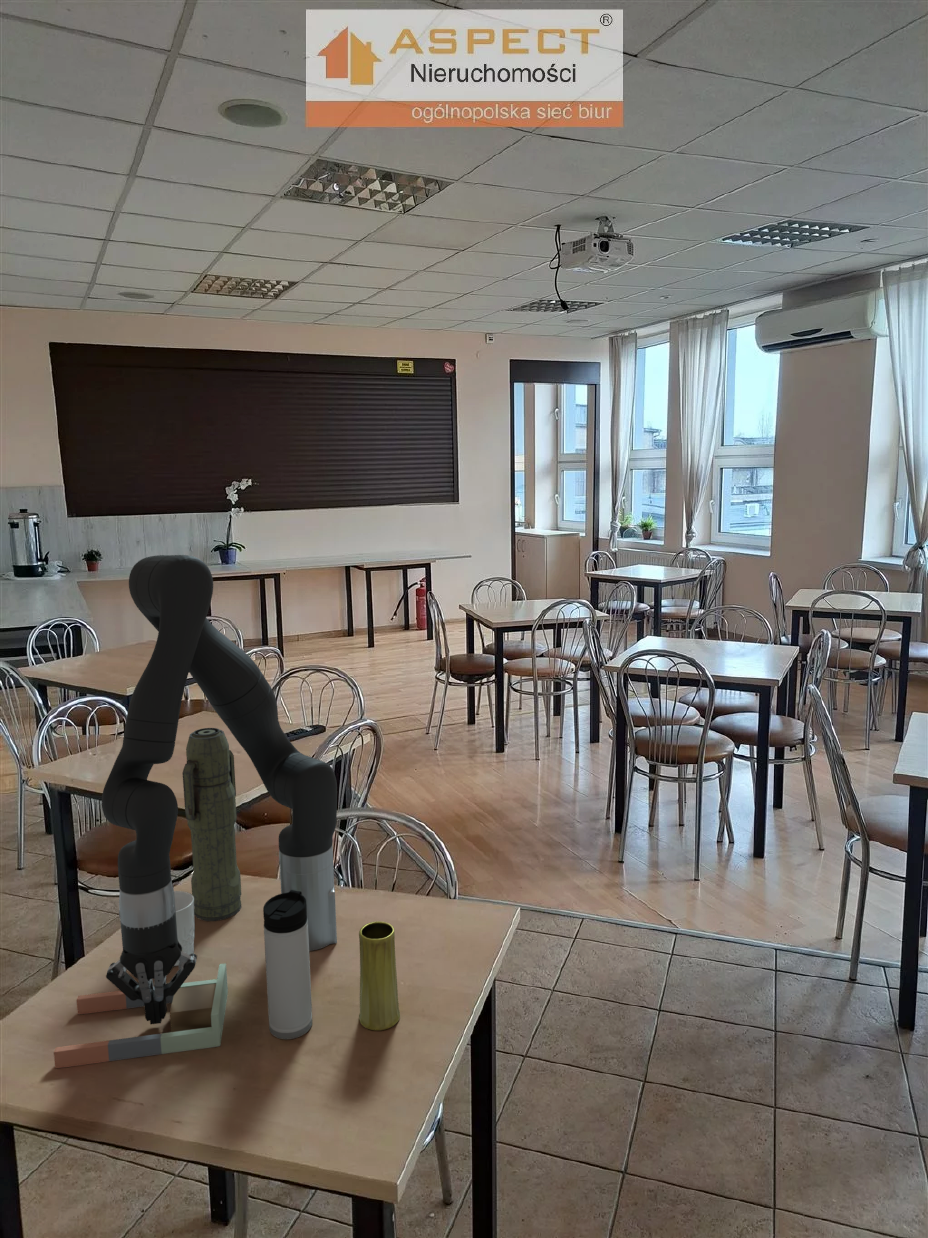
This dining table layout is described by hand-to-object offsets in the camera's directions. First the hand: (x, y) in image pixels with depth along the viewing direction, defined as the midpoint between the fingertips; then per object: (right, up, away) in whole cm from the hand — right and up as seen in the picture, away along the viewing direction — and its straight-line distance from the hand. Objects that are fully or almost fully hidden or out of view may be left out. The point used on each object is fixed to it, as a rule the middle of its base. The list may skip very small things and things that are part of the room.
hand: (156, 1020), depth 122 cm
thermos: (-1, +4, +34) cm, 34 cm away
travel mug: (+20, -1, 0) cm, 20 cm away
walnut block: (+5, -1, +2) cm, 6 cm away
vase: (+33, -1, +2) cm, 33 cm away
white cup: (-4, +2, +19) cm, 19 cm away
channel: (-1, -1, 0) cm, 2 cm away
